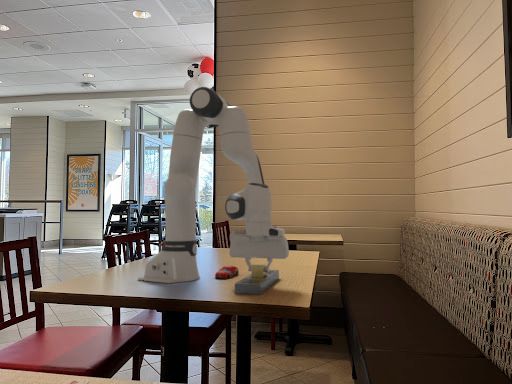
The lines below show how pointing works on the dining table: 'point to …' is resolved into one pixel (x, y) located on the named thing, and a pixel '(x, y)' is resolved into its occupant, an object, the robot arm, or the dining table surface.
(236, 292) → the rail
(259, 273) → the pale yellow block
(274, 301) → the dining table surface
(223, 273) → the race car
